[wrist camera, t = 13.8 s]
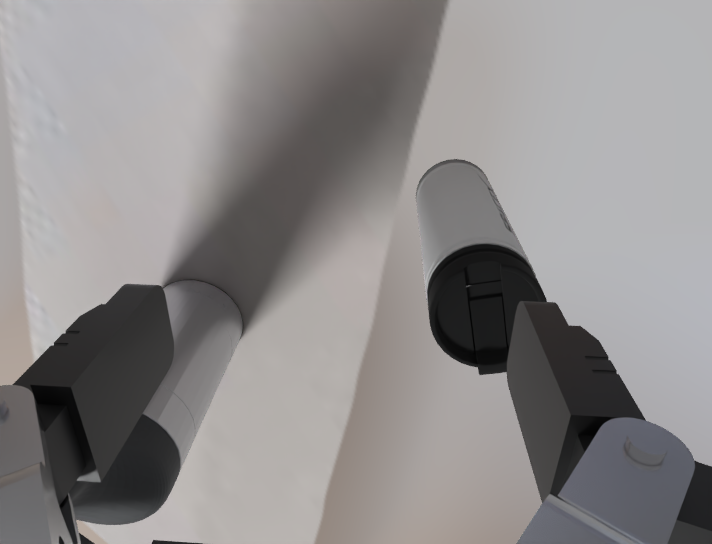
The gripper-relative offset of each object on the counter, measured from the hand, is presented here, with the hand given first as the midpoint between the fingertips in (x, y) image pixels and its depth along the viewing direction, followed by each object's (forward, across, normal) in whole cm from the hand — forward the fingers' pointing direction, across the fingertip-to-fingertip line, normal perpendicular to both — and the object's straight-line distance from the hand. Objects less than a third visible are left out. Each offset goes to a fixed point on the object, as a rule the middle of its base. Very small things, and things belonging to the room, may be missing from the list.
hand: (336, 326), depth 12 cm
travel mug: (+33, -7, +8) cm, 35 cm away
